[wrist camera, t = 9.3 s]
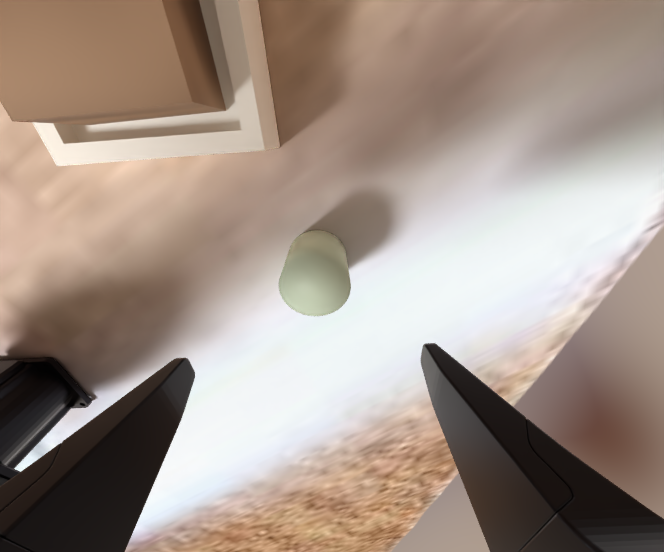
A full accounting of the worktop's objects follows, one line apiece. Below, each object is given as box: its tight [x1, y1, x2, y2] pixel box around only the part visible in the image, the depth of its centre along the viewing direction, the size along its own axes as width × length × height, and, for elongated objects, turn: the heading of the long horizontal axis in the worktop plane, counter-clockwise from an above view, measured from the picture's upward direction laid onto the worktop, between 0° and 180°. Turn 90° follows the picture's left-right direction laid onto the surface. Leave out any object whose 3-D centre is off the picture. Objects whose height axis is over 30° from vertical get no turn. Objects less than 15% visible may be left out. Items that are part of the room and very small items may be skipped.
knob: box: [279, 230, 351, 316], centre depth 15 cm, size 4×4×4 cm
